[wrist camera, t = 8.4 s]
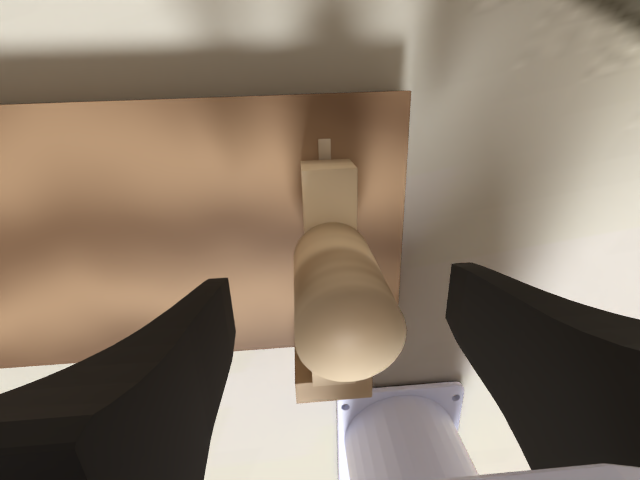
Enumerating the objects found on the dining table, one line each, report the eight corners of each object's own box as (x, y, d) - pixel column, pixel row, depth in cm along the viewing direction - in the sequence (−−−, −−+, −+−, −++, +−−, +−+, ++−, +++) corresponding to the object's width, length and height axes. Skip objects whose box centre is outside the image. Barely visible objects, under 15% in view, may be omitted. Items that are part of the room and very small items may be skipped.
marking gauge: (359, 349, 20) (402, 510, 13) (295, 353, 20) (298, 521, 12) (361, 152, 16) (428, 208, 8) (281, 155, 16) (272, 216, 8)
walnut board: (386, 317, 21) (396, 340, 19) (23, 342, 20) (-7, 370, 18) (397, 91, 16) (411, 90, 14) (-77, 107, 15) (-132, 109, 13)
